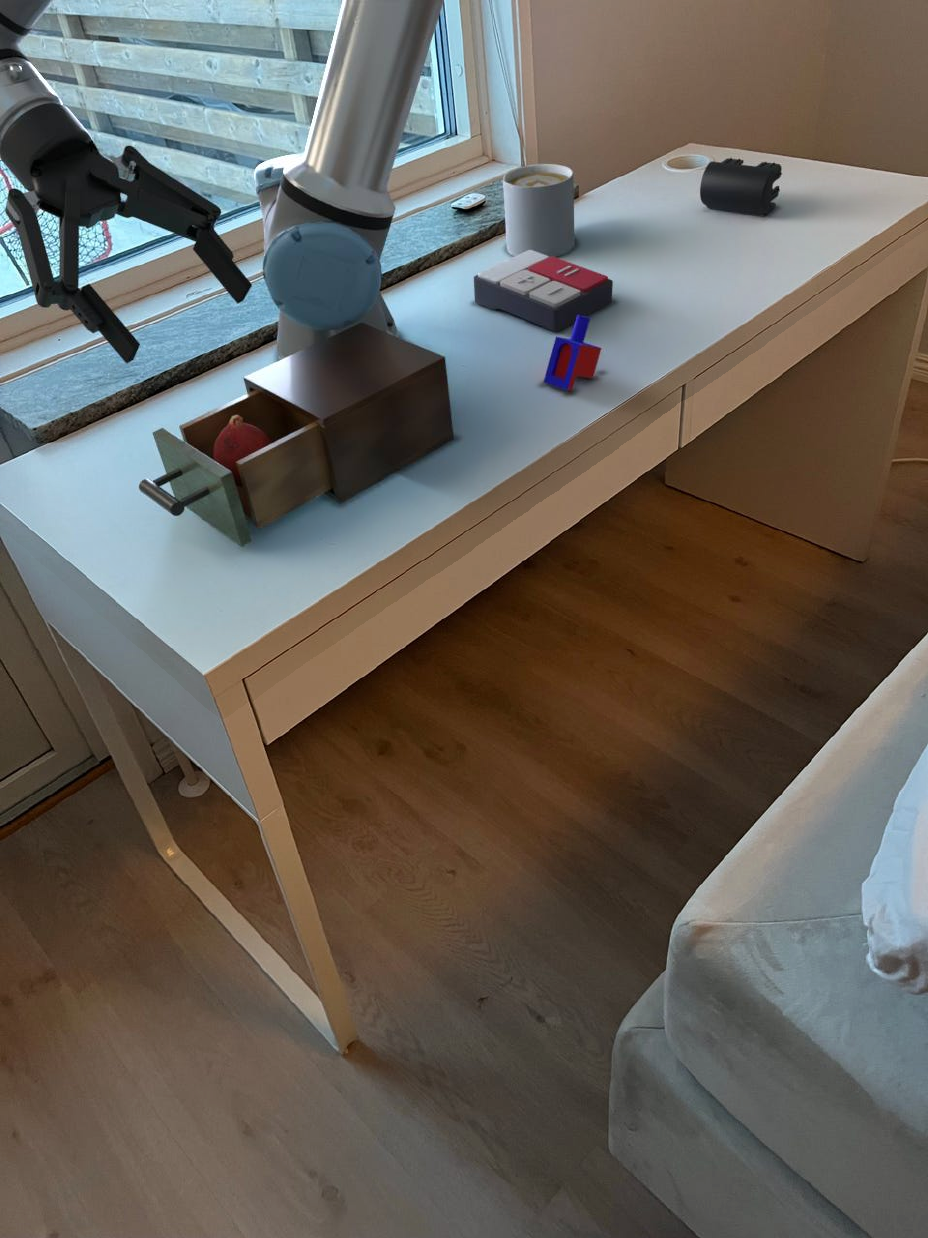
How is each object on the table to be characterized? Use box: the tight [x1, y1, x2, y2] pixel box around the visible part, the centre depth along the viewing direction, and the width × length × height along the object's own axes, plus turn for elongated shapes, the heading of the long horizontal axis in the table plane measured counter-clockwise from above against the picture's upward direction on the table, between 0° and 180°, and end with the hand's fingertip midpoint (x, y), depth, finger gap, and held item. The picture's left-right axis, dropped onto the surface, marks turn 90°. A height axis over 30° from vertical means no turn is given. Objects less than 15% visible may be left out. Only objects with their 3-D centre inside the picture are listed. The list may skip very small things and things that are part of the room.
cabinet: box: [242, 323, 455, 504], centre depth 101 cm, size 16×14×10 cm
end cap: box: [699, 157, 783, 217], centre depth 143 cm, size 10×7×7 cm
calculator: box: [473, 250, 614, 332], centre depth 126 cm, size 11×4×15 cm
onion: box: [213, 415, 272, 487], centre depth 93 cm, size 6×6×8 cm
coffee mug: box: [502, 163, 575, 258], centre depth 139 cm, size 13×10×10 cm
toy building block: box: [543, 315, 602, 392], centre depth 109 cm, size 4×4×8 cm
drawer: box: [138, 390, 333, 548], centre depth 94 cm, size 19×12×8 cm, turn 133°
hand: (191, 323), depth 88 cm, fingers open, 13 cm apart
